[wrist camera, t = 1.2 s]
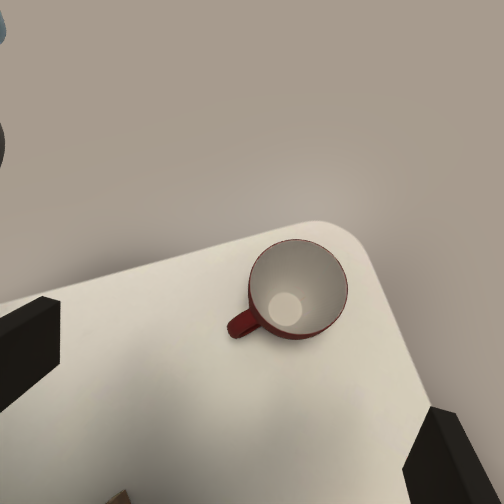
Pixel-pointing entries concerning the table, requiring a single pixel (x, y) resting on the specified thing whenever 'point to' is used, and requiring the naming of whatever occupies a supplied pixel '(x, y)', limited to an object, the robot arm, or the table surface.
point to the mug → (293, 292)
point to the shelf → (120, 498)
